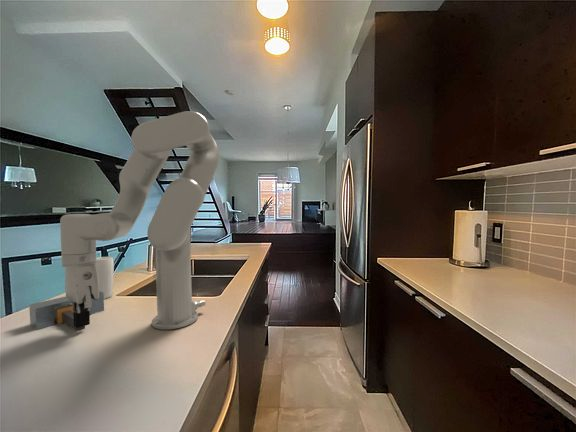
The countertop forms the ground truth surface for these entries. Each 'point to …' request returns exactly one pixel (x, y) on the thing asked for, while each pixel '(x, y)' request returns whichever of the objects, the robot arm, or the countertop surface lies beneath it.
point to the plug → (65, 316)
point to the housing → (45, 310)
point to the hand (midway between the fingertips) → (81, 325)
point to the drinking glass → (105, 275)
